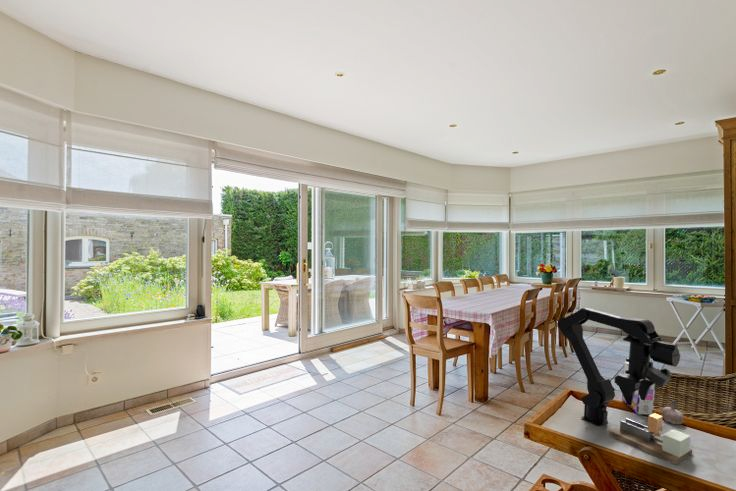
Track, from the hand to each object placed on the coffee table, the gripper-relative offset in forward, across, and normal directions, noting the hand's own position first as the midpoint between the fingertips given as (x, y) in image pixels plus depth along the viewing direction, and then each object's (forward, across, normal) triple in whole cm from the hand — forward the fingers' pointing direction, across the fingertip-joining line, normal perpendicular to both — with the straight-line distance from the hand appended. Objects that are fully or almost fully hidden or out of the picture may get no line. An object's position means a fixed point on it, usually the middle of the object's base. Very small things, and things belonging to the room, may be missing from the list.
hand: (636, 402), depth 131 cm
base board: (+12, 0, -4) cm, 13 cm away
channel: (+10, 0, -1) cm, 11 cm away
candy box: (+12, +27, +11) cm, 32 cm away
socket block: (+11, 0, -12) cm, 16 cm away
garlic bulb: (+12, +27, -1) cm, 30 cm away
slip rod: (+10, 0, -8) cm, 13 cm away
